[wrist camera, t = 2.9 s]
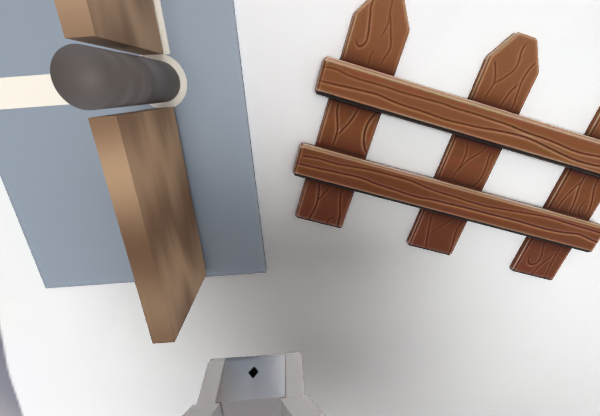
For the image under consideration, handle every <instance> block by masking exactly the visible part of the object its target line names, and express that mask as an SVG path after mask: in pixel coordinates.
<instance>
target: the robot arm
mask: <svg viewBox="0 0 600 416" xmlns="http://www.w3.org/2000/svg"><path fill="white" fill-rule="evenodd" d="M183 416H325V415H324V414H323V413H322V412H321V410H320V409H319V408H318V407H317V405H316V404H315V403H314V402H313V400H312V399H311V398H310V397H309V396H305V393H304V381H303V368H302V355H301V352H293V353H282V354H272V355H261V356H252V357H234V358H223V359H211V360H210V361H209V363H208V366H207V369H206V373H205V377H204V380H203V384H202V387H201V391H200V395H199V398H198V402H197V405H192V406H191V407H190V408H189V409H188V410H187V411H186V412H185V413H184V415H183Z"/></svg>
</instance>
